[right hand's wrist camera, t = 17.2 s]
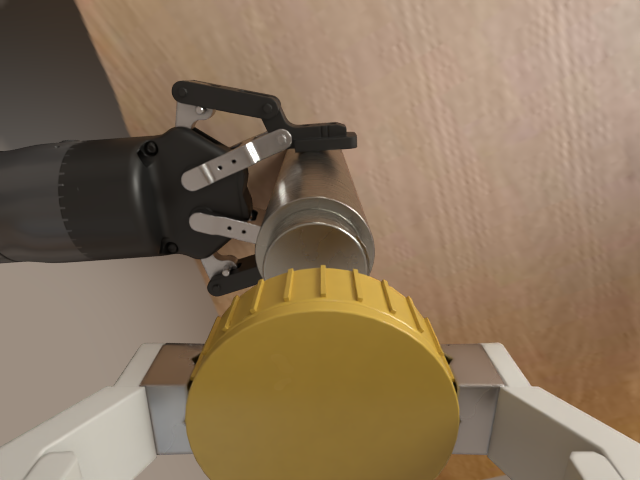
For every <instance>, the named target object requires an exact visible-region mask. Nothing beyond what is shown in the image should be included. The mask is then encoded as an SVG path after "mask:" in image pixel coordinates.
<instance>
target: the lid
mask: <svg viewBox="0 0 640 480" xmlns="http://www.w3.org/2000/svg"><path fill="white" fill-rule="evenodd" d="M190 380H191V381H193V382H192V384H191V387H190V389H189V393H188V397H187V402H186V409H185V424H186V433H187V437H188V441H189V444H190V448H191V450H192V452H193V454H194V457H195V459H196V461H197V462H198V464H199V465H200V467H201V469H202V470H203V472H204V473H205V474H206V475H207V477H208V478H209V479H210V480H435V479H436V478H437V477H438V475H439V474H440V472H441V471H442V470H443V468H444V467H445V465H446V464H447V462H448V460H449V458H450V456H451V454H452V452H453V449H454V446H455V443H456V440H457V436H458V430H459V404H458V398H457V394H456V391H455V388H454V385H453V382H455V379H454V376H453V374H452V372H451V369H450V367H449V365H448V363H447V360H446V358H445V356H444V353H443V351H442V348H441V346H440V344H439V342H438V339H437V337H436V335H435V333H434V330H433V328H432V326H431V324H430V321H429V319H428V318H425V319H424V318H423V317H422V315H421V314H420V313H419V311H418V310H417V309H416V307H415V306H414V304H413V301H412V299H411V298H410V297H409V296H408V297H407V298H405V297H404V296H403V295H401V294H400V293H399V292H397V291H396V290H395V289H393V288H392V287H390V286H389V285H388V282H387V281H386V280H384V279H383V280H382V282H381V281H379V280H377V279H374V278H372V277H369V276H367V275H364V274H360V273H358V270H357V269H353V270H352V271H349V270H342V269H334V268H326V266H325V265H321V266H320V268H311V269H301V270H296V271H294V270H293V268H292V269H288V272H287V273H284V274H281V275H278V276H275V277H272V278H270V279H267V280H265V281H264V280H263V279H260V280H259V281H258V284H257V285H256V286H254V287H253V288H251V289H250V290H248V291H247V292H245V293H244V294H242V295H241V296H240V297H239V296H238V295H236V296H235V297H234V299H233V301H232V304H231V306H230V307H229V308H228V309H227V311H226V312H225V313H224V314H223V315H222V317H219V316H218V317H217V318H216V320H215V323H214V325H213V327H212V329H211V332H210V334H209V336H208V339H207V340H206V342H205V345H204V347H203V349H202V352H201V354H200V356H199V358H198V361H197V363H196V365H195V368H194V370H193V372H192V375H191V377H190Z"/></svg>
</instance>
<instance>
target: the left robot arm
mask: <svg viewBox="0 0 640 480" xmlns="http://www.w3.org/2000/svg"><path fill="white" fill-rule="evenodd" d="M172 95H173V97H174V99H175V100H176V101H177V111H176V126H175V127H174V128H171V129H170V130H168V131H167V132H166V133H164V134H162V135H157V136H143V137H130V138H117V139H103V140H90V141H78V140H65V141H62V142H59V143H50V144H41V145H34V146H29V147H24V148H20V149H15V150H10V151H0V263H11V262H26V261H30V262H45V263H66V262H81V261H95V260H109V259H123V258H137V257H152V256H164V255H170V254H183V255H187V256H190V257H192V258H195V259H200V260H201V262H202V264H203V266H204V268H205V270H206V272H207V274H208V276H209V279H210V282H209V284H208V286H207V289H208V292H209V293H210V294H211V295H213V296H222V295H225V294H228V293H231V292H234V291H238V290H241V289H244V288H247V287H250V286H254V285H257V284H258V281H259V280H260V279H263V278H262V276H261V274H260V272H259V270H258V267H257V263H256V258H255V254H254V255H251V256H248V257H245V258H241V259H237V258H236V257H235V256H233V255H226V256H224V255H221V254H219V253H218V252H217V251H218V250H219V249H220V248H221V247H222V246H224V245H225V244H226V243H227V242H228V241H230V240H231V239H232V238H233V239H237V240H241V241H245V242H250V243H254V244H256V240H257V236H258V233H259V230H260V227H261V224H262V222H263V219H264V216H265V213H266V210H264V209H260V208H256V207H253V205H252V198H251V195H250V193H249V191H248V188H247V182H248V167H249V166H251V165H253V164H255V163H257V162H259V161H260V160H262V159H265V158H267V157H269V156H271V155H274V154H276V153H278V152H280V151H283V150H285V149H295V153H299V152H310V151H326V150H339V149H352V148H356V147H357V135H356V133H355V132H346V126H345V125H344V124H341V123H338V122H331V123H318V124H305V125H295V124H292V123H290V122H289V121H288V120H287V118H286V116H285V114H284V112H283V110H282V108H281V103H280V100H279V99H278V98H277V97H276V96H273V95H268V94H263V93H258V92H252V91H247V90H242V89H237V88H232V87H227V86H221V85H216V84H211V83H206V82H201V81H195V80H185V81H178V82H176V83H175V84H174V85H173V87H172ZM216 110H219V111H225V112H230V113H235V114H241V115H246V116H251V117H257V118H261V119H262V121H263V123H264V125H265V127H266V129H267V131H266V132H264V133H261V134H259V135H257V136H254V137H251V138H249V139H247V140H244V141H242V142H240V143H238V144H235V145H233V146H231V147H227V146H225V145H224V144H222V143H220V142H219V141H217V140H215V139H214V138H212V137H210V136H209V135H207V134H205V133H204V132H202V131H200V130H199V129H197V128H195V124H196V122H197V121H198V120H206V119H208V118H211V117H212V116H213V115H214V114H215V111H216ZM251 216H252V217H251ZM244 230H245V231H244Z"/></svg>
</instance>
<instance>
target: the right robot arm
mask: <svg viewBox="0 0 640 480" xmlns="http://www.w3.org/2000/svg"><path fill="white" fill-rule="evenodd" d="M204 345H205V344H188V343H187V344H186V343H166V344H165V343H144V344H142V345H141V346H140V347H139V349H138V350H137V352H136V353H135V355H134V356H133V358H132V359H131V361H130V362H129V364H128V365H127V366H126V368H125V370H124V371H123V372H122V374H121V375H120V377H119V378H118V380H117V381H116V383H115V384H114V386H111V387H105V388H103V389H101V390H100V391H98V392H96V393H94V394H92V395H91V396H89V397H87V398H85V399H84V400H82V401H80V402H78V403H77V404H75V405H73V406H71V407H70V408H68V409H66V410H64V411H63V412H61V413H59V414H57V415H55V416H54V417H52V418H50V419H48V420H47V421H45V422H43V423H41V424H40V425H38V426H36V427H34V428H33V429H31V430H29V431H27V432H26V433H24V434H22V435H20V436H19V437H17V438H15V439H13V440H12V441H10V442H8V443H6V444H4V445H3V446H1V447H0V480H133V479H135V477H137V476H138V475H139V474H140V473H141V472H142V471H143V470H144V469H145V468H146V467H147V466H148V465H149V464H150V463H151V462H152V461H153V460H154V459H155V458H156V457H157V455H170V454H193V452H192V450H191V448H190V444H189V441H188V437H187V433H186V424H185V409H186V402H187V397H188V393H189V389H190V387H191V384H192V382H193V381H191V380H190V377H191V375H192V372H193V370H194V368H195V365H196V363H197V361H198V358H199V356H200V354H201V352H202V349H203V347H204ZM440 346H441V348H442V351H443V353H444V356H445V358H446V360H447V363H448V365H449V367H450V369H451V372H452V374H453V376H454V379H455V382H453V385H454V388H455V391H456V394H457V398H458V404H459V430H458V436H457V440H456V443H455V446H454V449H453V452H452V454H474V455H488V458H489V459H490V460H491V461H492V462H494V463H495V464H496V465H497V466H498V467H499V468H500V469H501V470H502V471H503V472H504V473H505V474H506V475H507V476H508V477H509V478H510V479H511V480H640V444H639V443H637V442H636V441H634V440H632V439H630V438H629V437H627V436H625V435H623V434H622V433H620V432H618V431H616V430H614V429H613V428H611V427H609V426H607V425H606V424H604V423H602V422H600V421H598V420H597V419H595V418H593V417H591V416H590V415H588V414H586V413H584V412H583V411H581V410H579V409H577V408H575V407H574V406H572V405H570V404H568V403H567V402H565V401H563V400H561V399H559V398H558V397H556V396H554V395H552V394H551V393H549V392H547V391H545V390H544V389H542V388H540V387H534V386H531V385H530V383H529V382H528V381H527V379H526V378H525V376H524V375H523V373H522V372H521V370H520V369H519V368H518V366H517V365H516V363H515V362H514V360H513V359H512V357H511V356H510V355H509V353H508V352H507V350H506V349H505V347H504V346H503V345H502V344H500V343H478V344H440Z"/></svg>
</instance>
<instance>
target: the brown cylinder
mask: <svg viewBox="0 0 640 480" xmlns="http://www.w3.org/2000/svg"><path fill="white" fill-rule="evenodd" d="M374 257H375V247H374V240H373V237H372V233H371V231H370V228H369V225H368V222H367V219H366V217H365V214H364V211H363V208H362V205H361V203H360V200H359V197H358V194H357V191H356V189H355V186H354V183H353V180H352V178H351V175H350V172H349V169H348V166H347V164H346V161H345V158H344V155H343V153H342V150H341V149H339V150H326V151H310V152H299V153H295V149H288V150H287V152H286V154H285V157H284V160H283V163H282V166H281V169H280V172H279V175H278V178H277V181H276V184H275V187H274V189H273V192H272V195H271V198H270V201H269V204H268V207H267V210H266V213H265V216H264V219H263V222H262V224H261V227H260V230H259V233H258V236H257V240H256V245H255V258H256V263H257V267H258V270H259V272H260V274H261V276H262V278H263V280H264V281H265V280H267V279H270V278H272V277H275V276H278V275H281V274H284V273H287V272H288V269H292V268H293V270H294V271H296V270H301V269H311V268H320V266H321V265H325V266H326V268H334V269H342V270H349V271H352V270H353V269H357V270H358V273H360V274H364V275H367V276H369V274H370V272H371V269H372V266H373V263H374Z"/></svg>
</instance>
